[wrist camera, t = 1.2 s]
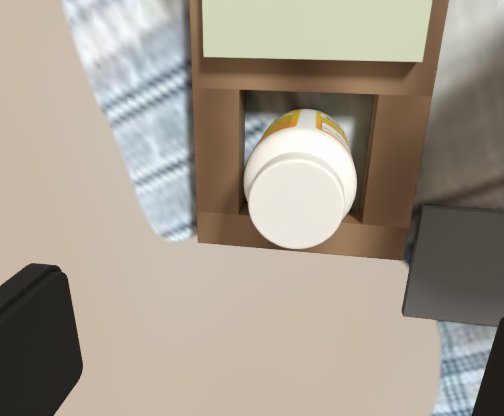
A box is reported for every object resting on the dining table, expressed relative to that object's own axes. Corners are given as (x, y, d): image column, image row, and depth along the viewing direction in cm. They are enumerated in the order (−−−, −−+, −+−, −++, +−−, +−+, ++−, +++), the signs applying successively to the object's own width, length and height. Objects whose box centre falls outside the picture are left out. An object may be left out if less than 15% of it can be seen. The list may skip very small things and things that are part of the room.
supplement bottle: (258, 186, 27) (226, 255, 18) (265, 102, 25) (234, 134, 16) (340, 196, 26) (350, 274, 17) (355, 112, 24) (375, 150, 15)
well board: (489, -304, 17) (509, -346, 15) (397, 246, 27) (403, 260, 25) (192, -277, 19) (178, -311, 17) (205, 229, 29) (197, 242, 27)
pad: (560, 214, 25) (565, 218, 24) (524, 323, 28) (529, 329, 27) (421, 204, 26) (423, 208, 25) (401, 311, 29) (403, 316, 28)
